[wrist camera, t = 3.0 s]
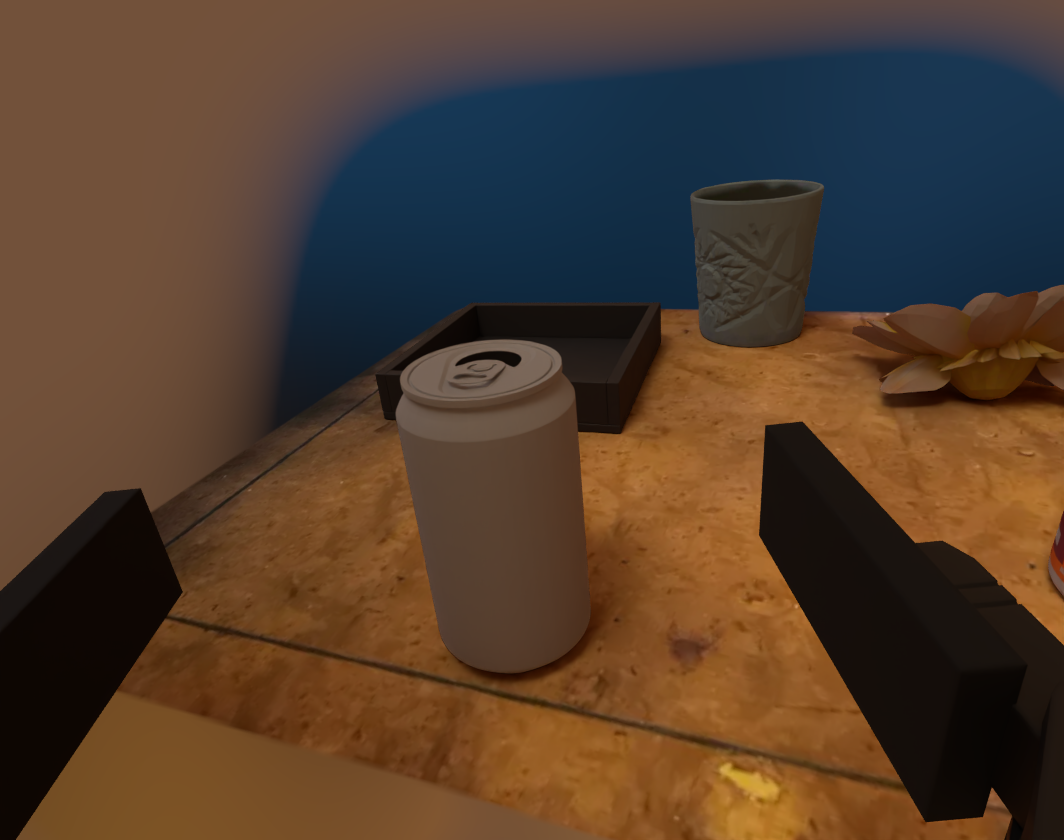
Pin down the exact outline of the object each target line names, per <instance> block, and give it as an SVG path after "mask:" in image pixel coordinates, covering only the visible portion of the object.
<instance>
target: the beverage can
mask: <svg viewBox="0 0 1064 840" xmlns="http://www.w3.org/2000/svg"><path fill="white" fill-rule="evenodd" d="M400 384H401V388H402V391H403V395H402V397H401V399H400V401H399V404H398V406H397V409H396V420H397V425H398V430H399V435H400V440H401V445H402V450H403V455H404V460H405V465H406V469H407V474H408V479H409V484H410V489H411V494H412V499H413V504H414V509H415V514H416V519H417V523H418V528H419V533H420V538H421V543H422V548H423V553H424V558H425V563H426V568H427V573H428V577H429V582H430V587H431V592H432V597H433V602H434V607H435V612H436V617H437V622H438V627H439V631H440V635H441V638H442V640H443V642H444V644H445V645H446V647H447V648H448V650H449V651H450V652H451V653H452V654H453V655H454V656H455V657H456V658H458V659H459V660H461V661H462V662H464V663H466V664H468V665H470V666H472V667H475V668H477V669H481V670H485V671H490V672H497V673H520V672H525V671H529V670H533V669H536V668H539V667H542V666H544V665H547V664H549V663H551V662H553V661H555V660H557V659H559V658H560V657H562V656H563V655H565V654H566V653H567V652H569V651H570V650H571V649H572V648H573V647H574V646H575V645H576V644H577V643H578V642H579V640H580V639H581V638H582V636H583V635H584V633H585V631H586V629H587V626H588V624H589V620H590V614H591V606H590V593H589V579H588V565H587V551H586V537H585V523H584V509H583V495H582V482H581V468H580V454H579V440H578V426H577V412H576V398H575V390H574V387H573V386H572V384H571V383H570V381H569V380H568V379H567V377H566V376H565V375H564V374H563V373H562V358H561V356H560V354H559V353H558V352H557V351H556V350H554V349H552V348H551V347H549V346H546V345H543V344H539V343H535V342H531V341H523V340H485V341H477V342H470V343H464V344H459V345H455V346H451V347H447V348H444V349H440V350H437V351H434V352H432V353H429V354H427V355H425V356H423V357H421V358H419V359H417V360H415V361H414V362H412V363H411V364H410V365H408V366H407V367H406V368H405V369H404V371H403V372H402V374H401V376H400Z"/></svg>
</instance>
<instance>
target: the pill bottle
mask: <svg viewBox="0 0 1064 840" xmlns="http://www.w3.org/2000/svg"><path fill="white" fill-rule="evenodd" d="M1048 568H1049V573H1050V576H1051V578H1052V581H1053V582H1054V584H1055V586H1056V587H1057V589H1058V590H1059V591H1060V592H1061V594H1062V595H1063V596H1064V512H1063V515H1062V517H1061V521H1060V524H1059V528H1058V531H1057V534H1056V537H1055V540H1054V543H1053V546H1052V549H1051V554H1050V557H1049V563H1048Z"/></svg>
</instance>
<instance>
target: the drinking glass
mask: <svg viewBox="0 0 1064 840" xmlns="http://www.w3.org/2000/svg"><path fill="white" fill-rule="evenodd" d="M823 192H824V187H823V185H822V184H819V183H816V182H810V181H801V180H759V181H758V180H757V181H743V182H735V183H727V184H721V185H716V186H711V187H707V188H703V189H700V190H698V191H696V192H694V193H692V194H691V209H692V219H693V232H694V236H695V238H696V240H695V246H696V247H695V255H696V261H695V262H696V267H697V272H696V276H697V278H698V280H697V281H698V284H697V289H698V300H699V324H700V330H701V333H702V335H703V336H704V337H705V338H707V339H708V340H711V341H713V342H716V343H720V344H725V345H730V346H740V347H761V346H771V345H777V344H782V343H786V342H789V341H791V340H793V339H795V338H796V337H797V336H799V335H800V333H801V330H802V325H803V318H804V311H805V302H804V298H805V297H806V295H807V287H808V285H809V274H810V271H811V266H812V256H813V254H812V253H813V250H814V240H815V236H816V231H817V223H818V220H819V214H820V208H821V202H822V197H823Z"/></svg>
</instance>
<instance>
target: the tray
mask: <svg viewBox="0 0 1064 840" xmlns="http://www.w3.org/2000/svg"><path fill="white" fill-rule="evenodd" d="M485 340H523V341H531V342H535V343H539V344H543V345H546V346H549V347H551V348H552V349H554V350H556V351H557V352H558V353H559V354H560V356H561V358H562V373H563V374H564V375H565V376H566V377H567V379H568V380H569V381H570V383H571V384H572V386H573V387H574V390H575V398H576V412H577V426H578V431H587V432H603V433H619V434H620V433H621V431H622V429H623V427H624V424H625V422H626V420H627V418H628V415H629V413H630V411H631V409H632V406H633V404H634V402H635V400H636V397H637V395H638V393H639V390H640V388H641V386H642V384H643V381H644V379H645V377H646V375H647V372H648V370H649V368H650V366H651V363H652V361H653V359H654V356H655V354H656V352H657V350H658V347H659V345H660V343H661V306H660V303H471V304H469V305H468V306H466V307H465V308H464V309H462V310H461V311H460V312H458V313H457V314H456V315H454V316H453V317H451V318H450V319H449V320H447V321H446V322H445V323H443V324H442V325H441V326H439V327H438V328H437V329H435V330H434V331H433V332H431V333H430V334H429V335H427V336H426V337H424V338H423V339H422V340H420V341H419V342H418V343H416V344H415V345H414V346H412V347H411V348H410V349H408V350H407V351H406V352H404V353H403V354H402V355H400V356H399V357H397V358H396V359H395V360H393V361H392V362H391V363H389V364H388V365H387V366H385V367H384V368H383V369H381V370H380V371H379V372H377V373H376V374H375V375H376V380H377V385H378V389H379V394H380V399H381V404H382V408H383V413H384V418H385V419H395V420H396V409H397V406H398V404H399V401H400V399H401V397H402V395H403V391H402V388H401V384H400V376H401V374H402V372H403V371H404V369H405V368H406V367H407V366H408V365H410V364H411V363H412V362H414V361H415V360H417V359H419V358H421V357H423V356H425V355H427V354H429V353H432V352H434V351H437V350H440V349H444V348H447V347H451V346H455V345H459V344H464V343H470V342H477V341H485Z"/></svg>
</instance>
